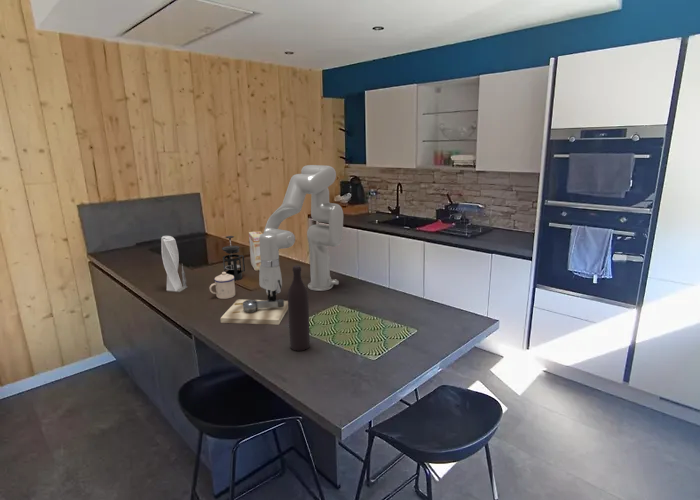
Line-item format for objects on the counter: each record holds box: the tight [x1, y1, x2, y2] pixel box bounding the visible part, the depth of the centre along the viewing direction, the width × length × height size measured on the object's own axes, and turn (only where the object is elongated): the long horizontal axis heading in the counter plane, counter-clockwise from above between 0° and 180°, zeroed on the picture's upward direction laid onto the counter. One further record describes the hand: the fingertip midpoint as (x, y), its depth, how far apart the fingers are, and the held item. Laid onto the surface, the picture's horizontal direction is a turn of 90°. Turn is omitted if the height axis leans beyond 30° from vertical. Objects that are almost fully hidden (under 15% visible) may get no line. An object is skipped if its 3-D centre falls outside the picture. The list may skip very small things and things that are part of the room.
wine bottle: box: [287, 264, 311, 352], centre depth 143 cm, size 7×7×30 cm
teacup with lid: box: [209, 271, 236, 300], centre depth 192 cm, size 12×9×12 cm
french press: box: [221, 235, 246, 282], centre depth 216 cm, size 12×9×23 cm
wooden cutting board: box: [220, 299, 288, 326], centre depth 174 cm, size 24×20×3 cm
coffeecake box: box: [248, 230, 263, 272], centre depth 236 cm, size 15×7×20 cm, turn 22°
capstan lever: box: [234, 298, 285, 312], centre depth 173 cm, size 20×6×3 cm, turn 100°
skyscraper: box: [160, 235, 188, 293], centre depth 199 cm, size 8×8×28 cm
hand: (272, 303), depth 176 cm, fingers closed
